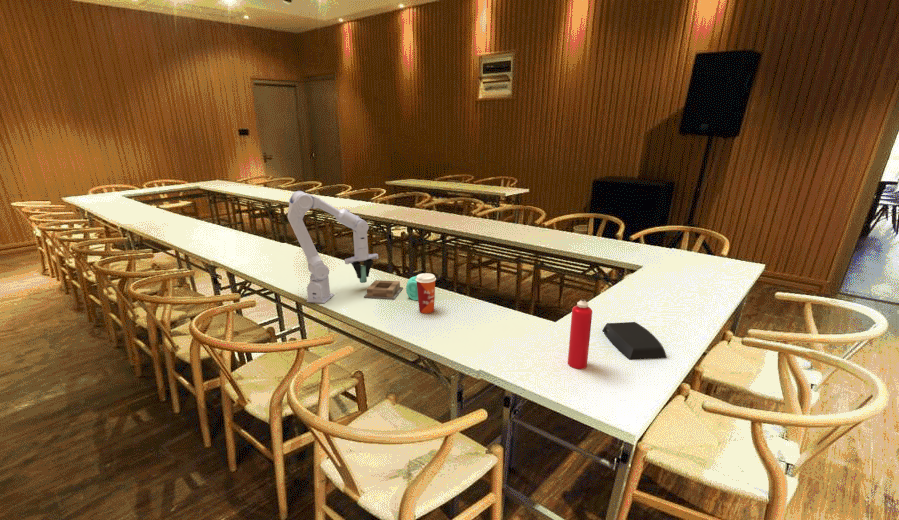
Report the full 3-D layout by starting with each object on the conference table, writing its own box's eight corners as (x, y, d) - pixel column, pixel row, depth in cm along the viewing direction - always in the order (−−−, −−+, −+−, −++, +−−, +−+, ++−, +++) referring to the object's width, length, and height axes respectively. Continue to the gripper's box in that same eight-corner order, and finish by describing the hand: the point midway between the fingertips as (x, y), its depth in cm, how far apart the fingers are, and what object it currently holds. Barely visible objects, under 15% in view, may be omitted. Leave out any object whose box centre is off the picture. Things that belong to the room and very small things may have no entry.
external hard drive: (637, 330, 143) (638, 319, 142) (669, 359, 125) (671, 347, 124) (599, 331, 143) (601, 320, 142) (626, 361, 124) (628, 349, 123)
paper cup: (427, 316, 155) (427, 280, 151) (412, 311, 159) (411, 276, 155) (441, 309, 161) (440, 275, 156) (425, 304, 165) (424, 271, 161)
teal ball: (432, 295, 175) (432, 277, 173) (423, 302, 168) (422, 283, 166) (415, 292, 178) (415, 274, 176) (406, 299, 171) (405, 280, 169)
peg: (365, 283, 179) (364, 267, 177) (358, 282, 180) (357, 267, 178) (367, 280, 182) (366, 265, 180) (361, 280, 183) (360, 265, 181)
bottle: (565, 365, 121) (570, 301, 116) (571, 357, 126) (576, 295, 120) (583, 371, 119) (590, 305, 113) (589, 362, 123) (595, 299, 117)
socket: (394, 299, 170) (393, 291, 169) (363, 298, 173) (363, 289, 171) (402, 288, 183) (402, 280, 182) (374, 286, 185) (374, 279, 184)
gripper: (372, 242, 184) (374, 271, 187) (340, 247, 176) (343, 277, 179) (379, 245, 178) (381, 275, 182) (347, 251, 170) (349, 282, 174)
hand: (363, 277), depth 180 cm, fingers closed on peg, 3 cm apart
